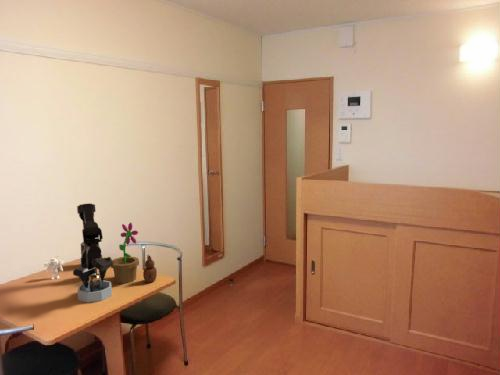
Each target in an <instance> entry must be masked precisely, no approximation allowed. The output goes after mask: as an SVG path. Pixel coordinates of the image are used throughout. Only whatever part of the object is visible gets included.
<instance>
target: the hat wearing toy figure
mask: <svg viewBox="0 0 500 375" xmlns="http://www.w3.org/2000/svg"><path fill="white" fill-rule="evenodd" d="M58 258H59V255H56V256H55V257H51V259H50V260H49V261H46V262H44V268H45V267H46V270H45V274H48V272H49V270H50V269H51V270H50V274H51V275H50V276H51V277H50V280H55V279H56V280H57V279H58V280H59V279H60V275H59V271H61V272H64V269H63V266H62V265H64V261H63V260H62V259H59V260H58ZM58 269H59V270H58Z"/></svg>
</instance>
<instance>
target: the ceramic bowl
mask: <svg viewBox="0 0 500 375" xmlns="http://www.w3.org/2000/svg"><path fill="white" fill-rule="evenodd" d="M112 286H113V285H112V282H111V281H110V280H105V279H104V280H103V281H101V279H100V291H95V292H90V281H89V280H88V288H86V287H85V286H84V284H83V283H82V284H79V285H78V288H77V300H78V301H80V302H83V303H95V302H102V301H104V300H106V299H107V298H110V297H112V296H113V295H112V294H113V290H112V288H113V287H112Z"/></svg>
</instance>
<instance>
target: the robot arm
mask: <svg viewBox="0 0 500 375" xmlns="http://www.w3.org/2000/svg"><path fill="white" fill-rule="evenodd" d="M76 212H77V214H78V216H79V218H80V220H81V221H82V230H81V232H82V242H84V247H85V248H84V250H83V252H82V257H81V256H80V266H79V267H77V268H74V269H73V271H72V274H73V276H75V277H78V278H79V279H80V280H81V283H82V284H84V286H85V287H86V288H88V282H89V275H91V274H93V273H98V274H99V276H100V280H101V281H103V280H105V278H106V273H107V271H108V269H110V268H111V265H113V261H112V260H113V259H112V257H110V256H107V257H103V255H102V249H101V247H100V243H102V241H103V238H104V237H103V232H102V229H101V227H99V224H98V222H96V221H95V212H96V204H94V203H91V202H90V203H83V204H79V205H77V207H76ZM82 264H83V265H82Z"/></svg>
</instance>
